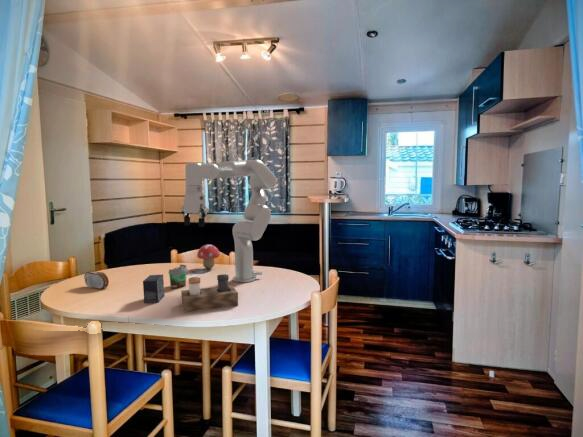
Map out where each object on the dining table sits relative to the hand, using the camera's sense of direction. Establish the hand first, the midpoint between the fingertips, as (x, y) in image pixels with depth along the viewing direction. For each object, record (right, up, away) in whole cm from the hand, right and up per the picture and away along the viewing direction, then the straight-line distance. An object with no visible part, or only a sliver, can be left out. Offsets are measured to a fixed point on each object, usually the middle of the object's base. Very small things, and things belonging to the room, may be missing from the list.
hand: (194, 225), depth 171 cm
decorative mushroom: (-5, -28, +52) cm, 59 cm away
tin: (-53, -32, +13) cm, 63 cm away
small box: (-16, -34, -7) cm, 38 cm away
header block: (+11, -34, -15) cm, 38 cm away
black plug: (+16, -33, -13) cm, 39 cm away
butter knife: (+33, -32, +5) cm, 46 cm away
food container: (-10, -31, +14) cm, 36 cm away
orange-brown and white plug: (+5, -34, -17) cm, 38 cm away
